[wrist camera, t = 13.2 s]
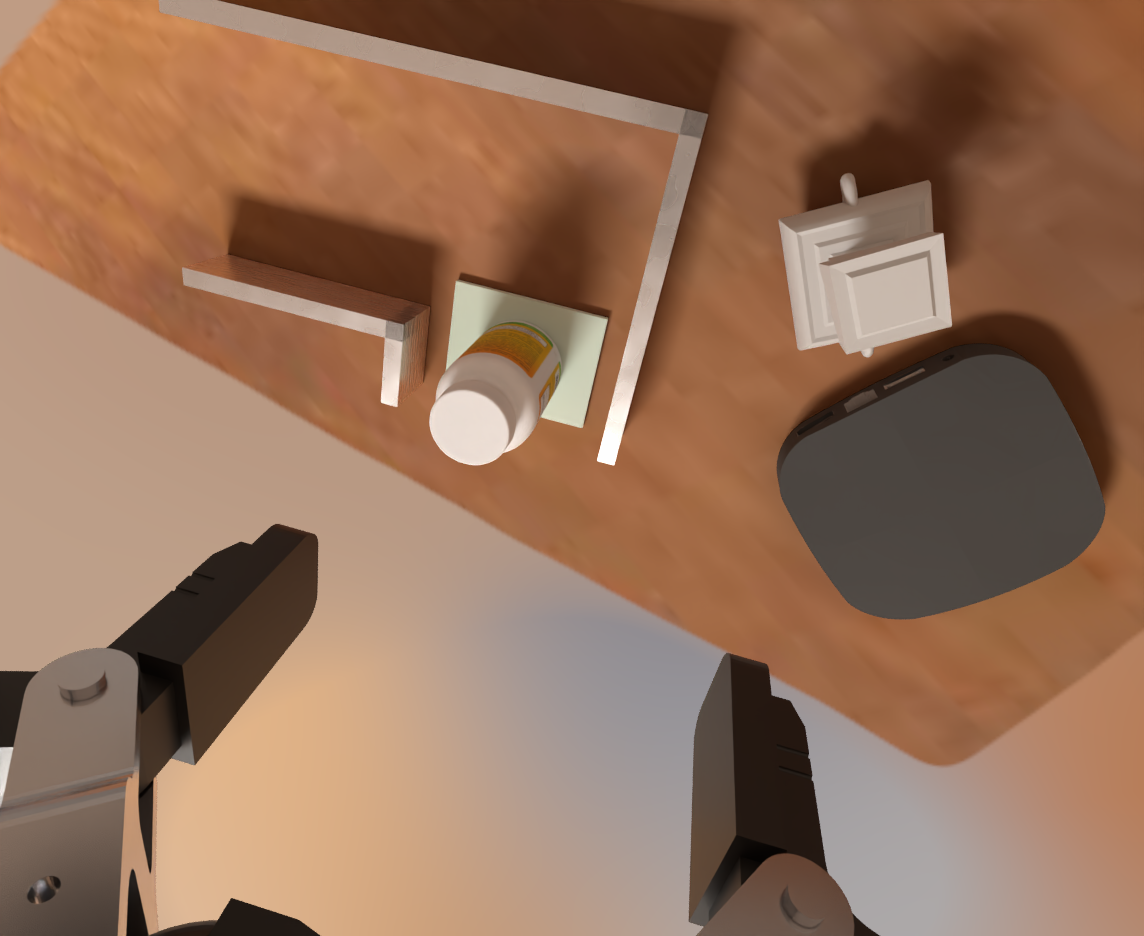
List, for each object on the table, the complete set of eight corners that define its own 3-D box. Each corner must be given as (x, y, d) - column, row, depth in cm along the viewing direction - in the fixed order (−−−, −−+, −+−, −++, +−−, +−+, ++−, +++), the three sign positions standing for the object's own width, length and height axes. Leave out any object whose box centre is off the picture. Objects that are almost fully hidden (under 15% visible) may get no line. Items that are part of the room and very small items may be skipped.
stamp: (769, 189, 34) (785, 209, 26) (912, 148, 32) (972, 158, 25) (796, 356, 37) (816, 415, 30) (926, 328, 36) (981, 384, 28)
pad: (458, 279, 39) (456, 280, 39) (608, 317, 38) (607, 319, 38) (445, 389, 42) (443, 391, 42) (583, 425, 42) (582, 428, 41)
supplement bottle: (461, 334, 40) (394, 393, 32) (543, 306, 38) (495, 359, 30) (497, 415, 42) (443, 490, 34) (576, 390, 40) (541, 463, 32)
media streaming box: (859, 613, 45) (868, 643, 42) (751, 441, 41) (754, 464, 38) (1105, 523, 39) (1133, 552, 36) (1008, 312, 35) (1032, 328, 32)
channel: (213, -1, 34) (157, -14, 31) (708, 114, 33) (707, 114, 29) (231, 332, 43) (189, 351, 40) (622, 436, 42) (614, 465, 38)
